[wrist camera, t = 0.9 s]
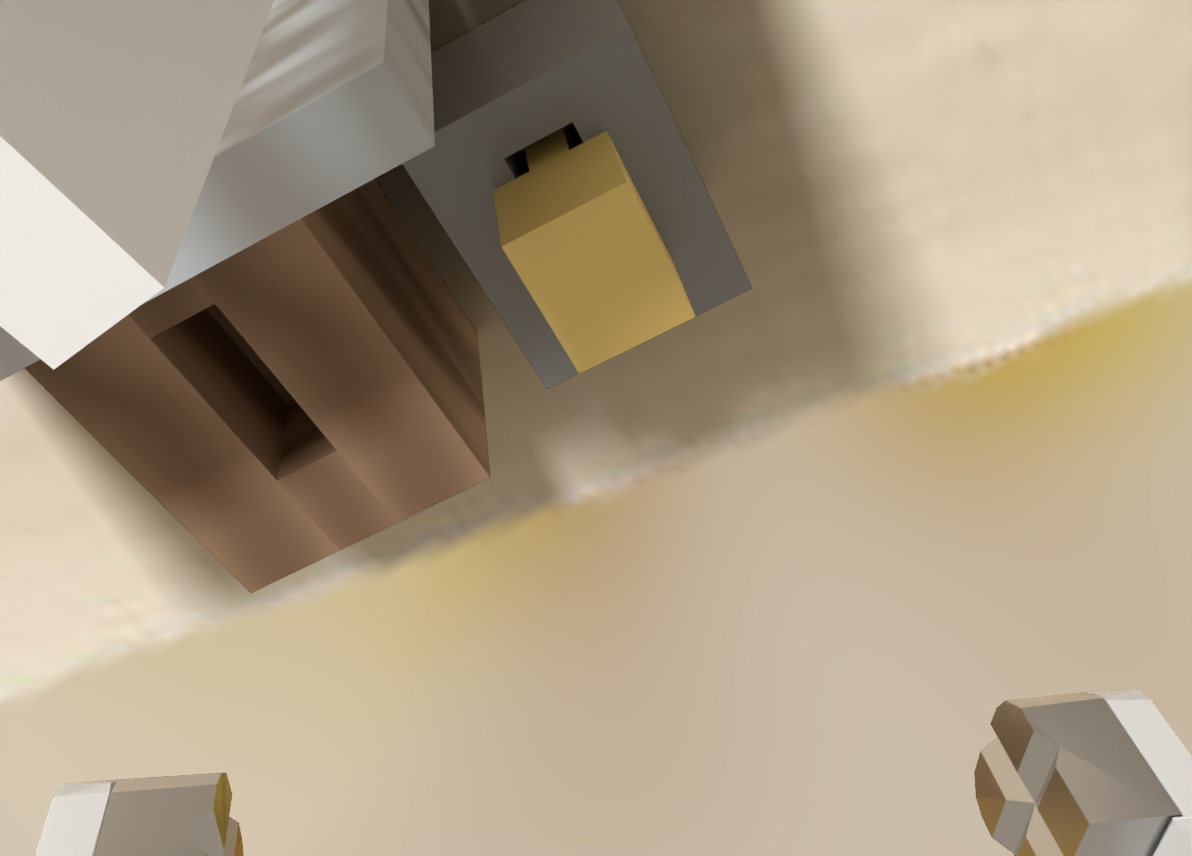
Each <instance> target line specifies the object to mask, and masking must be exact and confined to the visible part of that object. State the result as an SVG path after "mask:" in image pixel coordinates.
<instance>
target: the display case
mask: <svg viewBox="0 0 1192 856" xmlns="http://www.w3.org/2000/svg"><path fill="white" fill-rule="evenodd" d="M273 2H274V0H0V326H1V327H2V328H3V329H4V330H5V331H7V332H8V333H9V334H10V335H12V336H13V337H14V338H15V339H17V340H18V341H19V342H20V343H21V344H23V345H24V346H25V347H26V348H28V349H29V350H30V351H31V352H33V353H34V354H35V355H36V356H37V357H39V358H40V359H41V360H42V361H44V362H45V363H46V364H47V365H49V366H50V367H51V368H52V369H53V370H54V369H55V368H57V367H58V366H59V365H61V364H62V363H63V362H65V361H66V360H68V359H69V358H70V357H72V356H73V355H74V354H76V353H77V352H78V351H80V350H81V349H82V348H84V347H85V346H86V345H88V344H89V343H90V342H92V341H93V340H94V339H96V338H97V337H99V336H100V335H101V334H103V333H104V332H105V331H107V330H108V329H109V328H111V327H112V326H113V325H115V324H116V323H117V322H119V321H120V320H121V319H123V318H124V317H125V316H127V315H128V314H130V313H131V312H132V311H134V310H135V309H136V308H138V307H139V306H140V305H142V304H143V303H144V302H146V301H147V300H148V299H150V298H151V297H152V296H154V295H155V294H156V293H158V292H159V291H160V290H162V289H163V288H164V287H165V285H166V282H167V279H168V277H169V274H170V272H171V269H172V266H173V264H174V261H175V258H176V256H177V253H178V251H179V248H180V245H181V243H182V240H183V238H184V235H185V232H186V230H187V227H188V224H189V222H190V219H191V217H192V214H193V211H194V209H195V206H196V203H197V201H198V198H199V196H200V193H201V190H202V188H203V185H204V183H205V180H206V177H207V175H208V172H209V169H210V167H211V164H212V162H213V159H214V156H215V154H216V151H217V148H218V146H219V143H220V141H221V138H222V135H223V133H224V130H225V128H226V125H227V122H228V120H229V117H230V114H231V112H232V109H233V107H234V104H235V101H236V99H237V96H238V93H239V91H240V88H241V86H242V83H243V80H244V78H245V75H246V73H247V70H248V67H249V65H250V62H251V59H252V57H253V54H254V52H255V49H256V46H257V44H258V41H259V38H260V36H261V33H262V31H263V28H264V25H265V23H266V20H267V18H268V15H269V12H270V10H271V7H272V4H273Z"/></svg>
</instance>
